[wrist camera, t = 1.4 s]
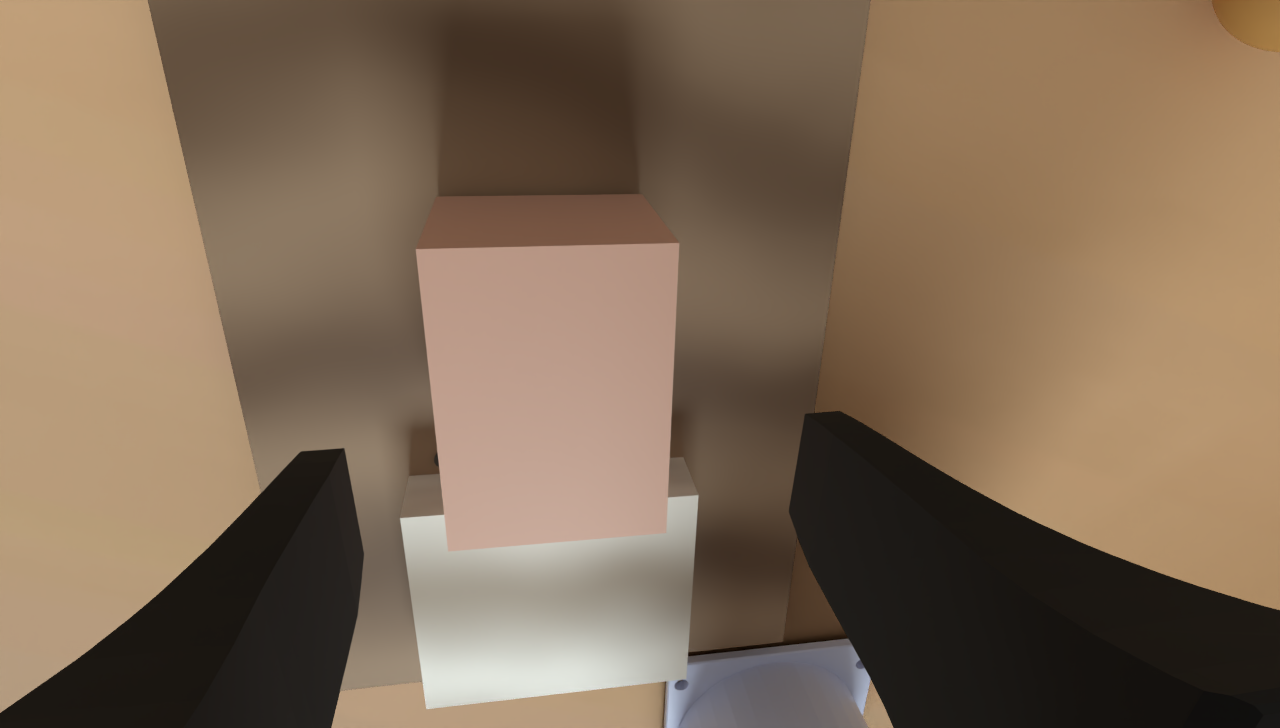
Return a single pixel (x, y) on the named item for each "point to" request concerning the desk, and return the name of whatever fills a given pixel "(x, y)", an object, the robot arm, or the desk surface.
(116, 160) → the desk surface
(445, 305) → the tall pink cuboid
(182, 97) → the ticket board
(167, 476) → the desk surface
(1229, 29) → the figurine
